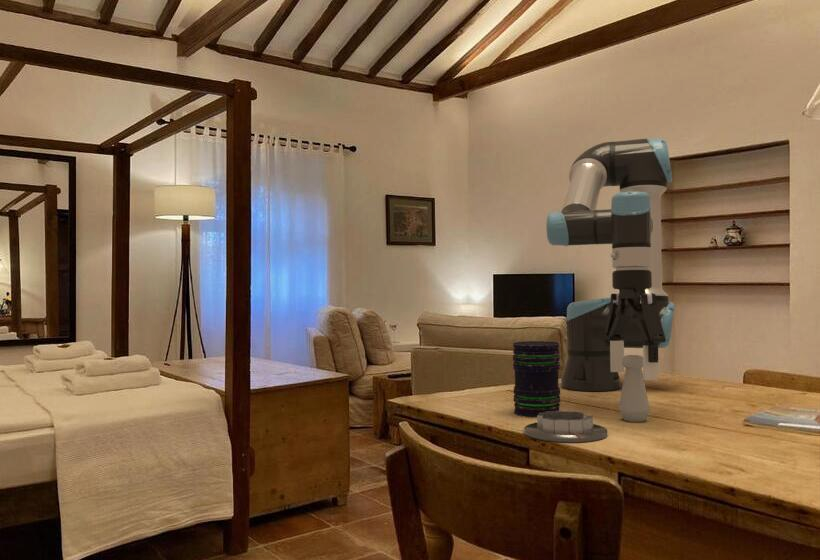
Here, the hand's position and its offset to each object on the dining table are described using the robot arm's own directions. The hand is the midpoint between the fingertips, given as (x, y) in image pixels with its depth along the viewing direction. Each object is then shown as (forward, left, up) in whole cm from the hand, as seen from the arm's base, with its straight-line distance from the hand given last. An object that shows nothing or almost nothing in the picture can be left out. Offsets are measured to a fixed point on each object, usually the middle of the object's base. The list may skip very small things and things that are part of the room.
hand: (633, 375), depth 138 cm
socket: (+8, -18, -9) cm, 21 cm away
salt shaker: (0, 0, -9) cm, 9 cm away
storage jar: (-12, -16, -9) cm, 22 cm away
